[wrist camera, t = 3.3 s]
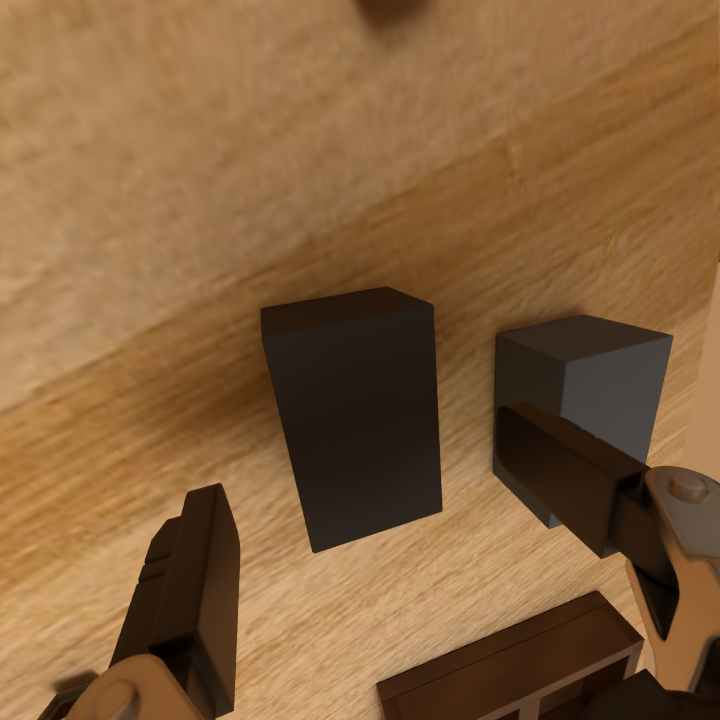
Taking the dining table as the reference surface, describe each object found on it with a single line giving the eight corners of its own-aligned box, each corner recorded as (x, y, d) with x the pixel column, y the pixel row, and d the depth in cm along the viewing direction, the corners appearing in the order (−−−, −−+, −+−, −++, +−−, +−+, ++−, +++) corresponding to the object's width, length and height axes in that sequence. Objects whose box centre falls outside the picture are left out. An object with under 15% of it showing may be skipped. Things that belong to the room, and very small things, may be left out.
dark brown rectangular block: (387, 286, 14) (434, 303, 10) (403, 451, 17) (443, 512, 13) (260, 308, 13) (261, 336, 9) (300, 481, 16) (313, 555, 12)
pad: (585, 313, 17) (674, 335, 13) (569, 449, 20) (639, 497, 16) (496, 333, 16) (566, 362, 12) (492, 473, 19) (548, 529, 15)
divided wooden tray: (597, 589, 26) (645, 639, 23) (579, 683, 30) (617, 735, 27) (376, 684, 22) (395, 758, 19) (392, 775, 27) (410, 848, 23)
